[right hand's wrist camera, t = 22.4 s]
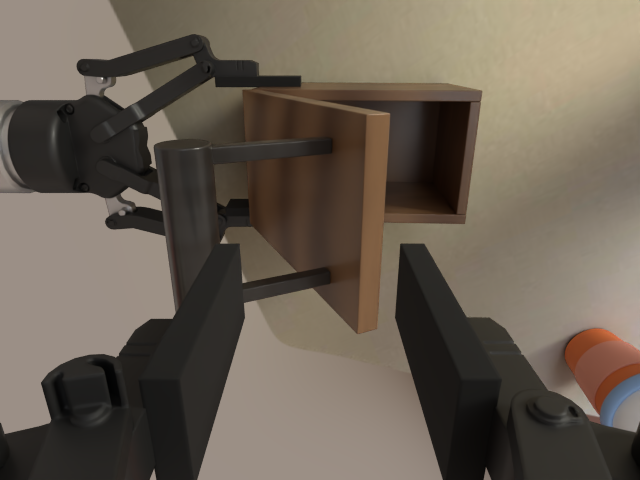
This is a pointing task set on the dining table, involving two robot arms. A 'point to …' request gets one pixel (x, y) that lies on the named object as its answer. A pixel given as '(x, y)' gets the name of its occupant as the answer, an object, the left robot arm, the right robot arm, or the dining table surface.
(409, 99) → the chest
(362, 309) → the lid
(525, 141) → the dining table surface
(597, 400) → the cup with straw
